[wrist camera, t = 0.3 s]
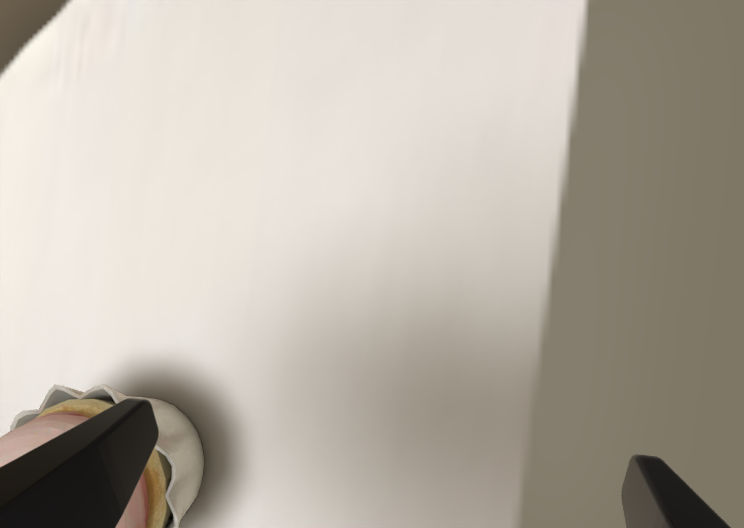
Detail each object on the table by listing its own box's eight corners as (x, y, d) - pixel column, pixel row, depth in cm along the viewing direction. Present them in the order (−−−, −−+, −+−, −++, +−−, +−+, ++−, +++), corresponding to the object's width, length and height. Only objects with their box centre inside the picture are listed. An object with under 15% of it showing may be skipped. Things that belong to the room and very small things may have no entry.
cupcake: (41, 460, 27) (-202, 551, 17) (147, 331, 26) (-43, 350, 17) (153, 595, 25) (-48, 781, 16) (270, 461, 25) (138, 567, 15)
